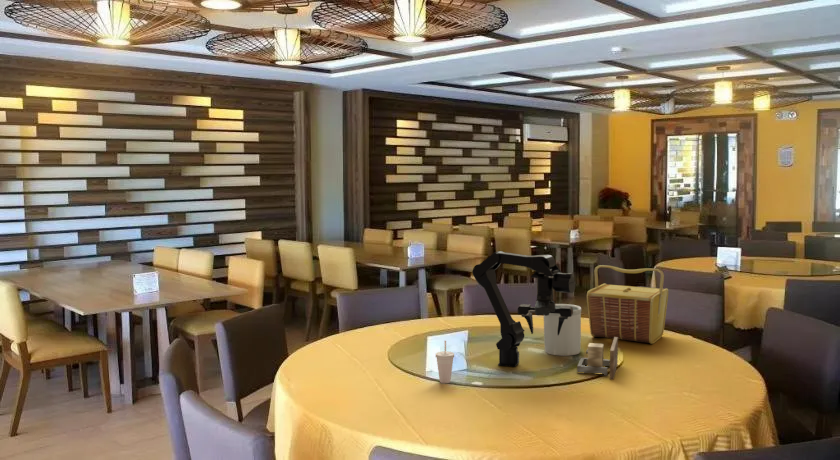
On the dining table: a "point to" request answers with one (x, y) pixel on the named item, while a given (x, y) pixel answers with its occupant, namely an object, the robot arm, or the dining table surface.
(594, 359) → the cabinet block
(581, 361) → the grey frame stand
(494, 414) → the dining table surface
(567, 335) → the utensil holder
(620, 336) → the picnic basket
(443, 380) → the smoothie
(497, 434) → the dining table surface
